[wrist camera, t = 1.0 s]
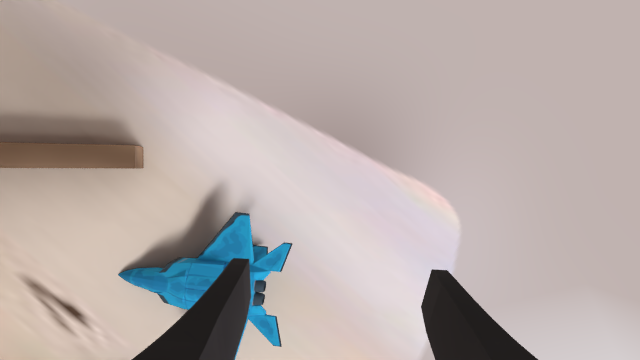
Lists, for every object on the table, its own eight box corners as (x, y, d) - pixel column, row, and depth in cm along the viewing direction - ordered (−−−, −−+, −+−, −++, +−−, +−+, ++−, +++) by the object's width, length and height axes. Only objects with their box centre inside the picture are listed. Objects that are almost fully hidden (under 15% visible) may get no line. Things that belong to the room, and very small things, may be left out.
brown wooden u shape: (146, 402, 25) (139, 427, 22) (-114, 449, 20) (-158, 487, 18) (143, 147, 24) (134, 145, 22) (-129, 141, 20) (-177, 138, 17)
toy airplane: (259, 194, 27) (266, 199, 23) (314, 293, 28) (329, 314, 24) (117, 273, 24) (96, 294, 20) (187, 377, 26) (180, 416, 22)
